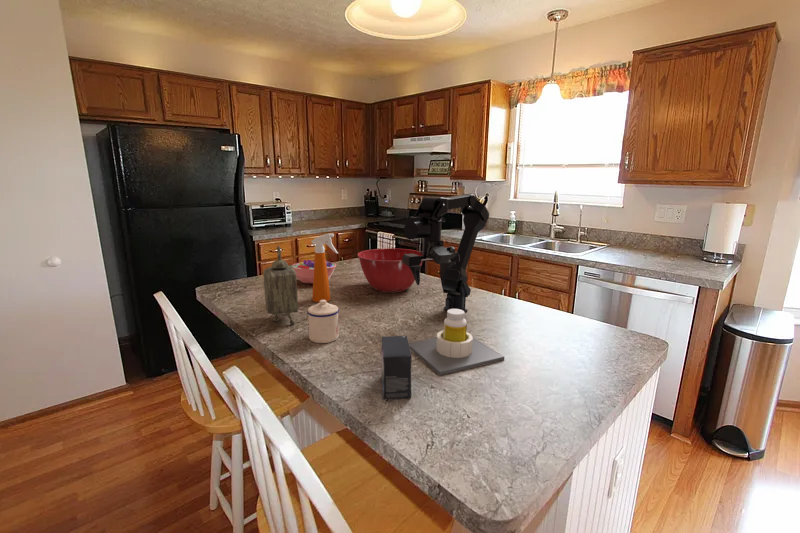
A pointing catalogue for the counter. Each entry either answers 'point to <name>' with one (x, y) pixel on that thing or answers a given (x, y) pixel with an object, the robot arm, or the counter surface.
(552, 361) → the counter surface
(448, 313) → the pill bottle
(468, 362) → the socket board
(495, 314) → the counter surface
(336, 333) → the teacup with lid
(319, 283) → the spray bottle
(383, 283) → the mixing bowl
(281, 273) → the tabletop clock
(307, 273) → the cell model
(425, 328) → the counter surface
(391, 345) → the small box
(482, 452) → the counter surface
